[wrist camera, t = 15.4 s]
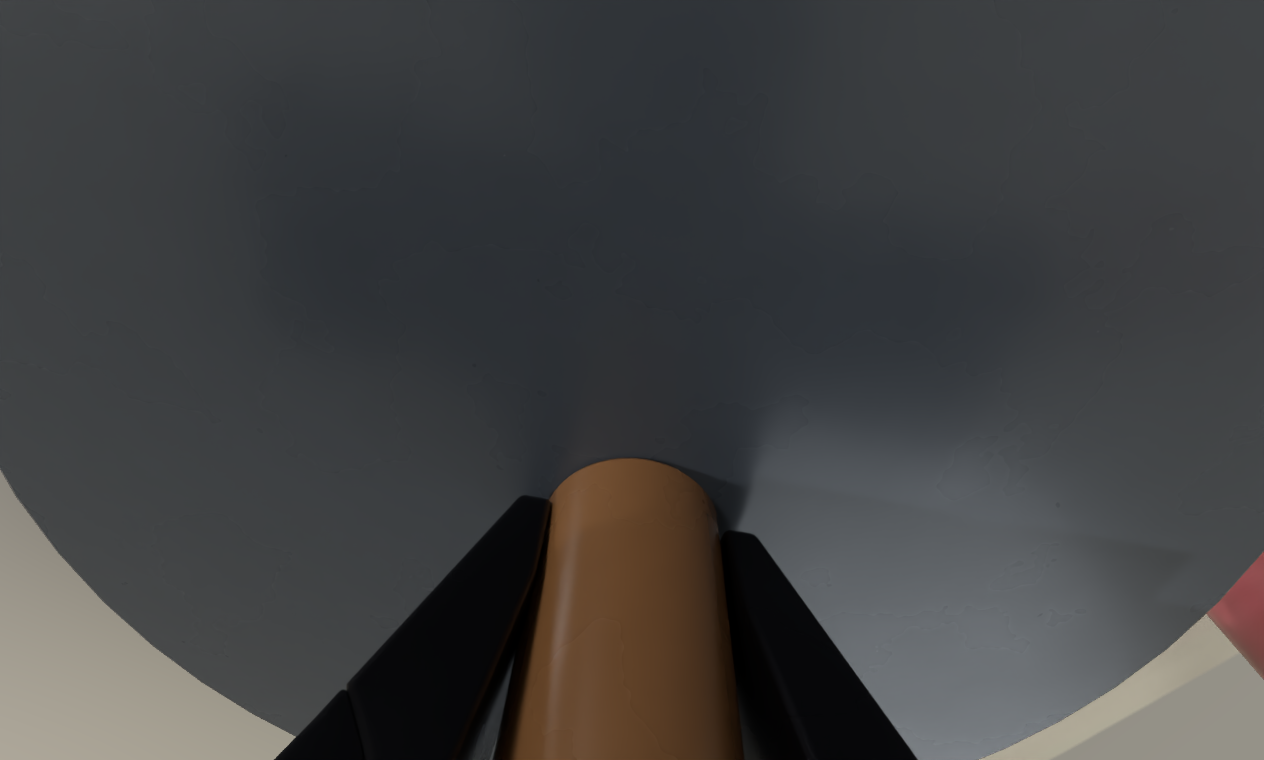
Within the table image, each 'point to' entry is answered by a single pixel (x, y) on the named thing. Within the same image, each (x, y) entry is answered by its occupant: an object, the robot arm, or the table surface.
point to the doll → (1244, 615)
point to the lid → (643, 338)
